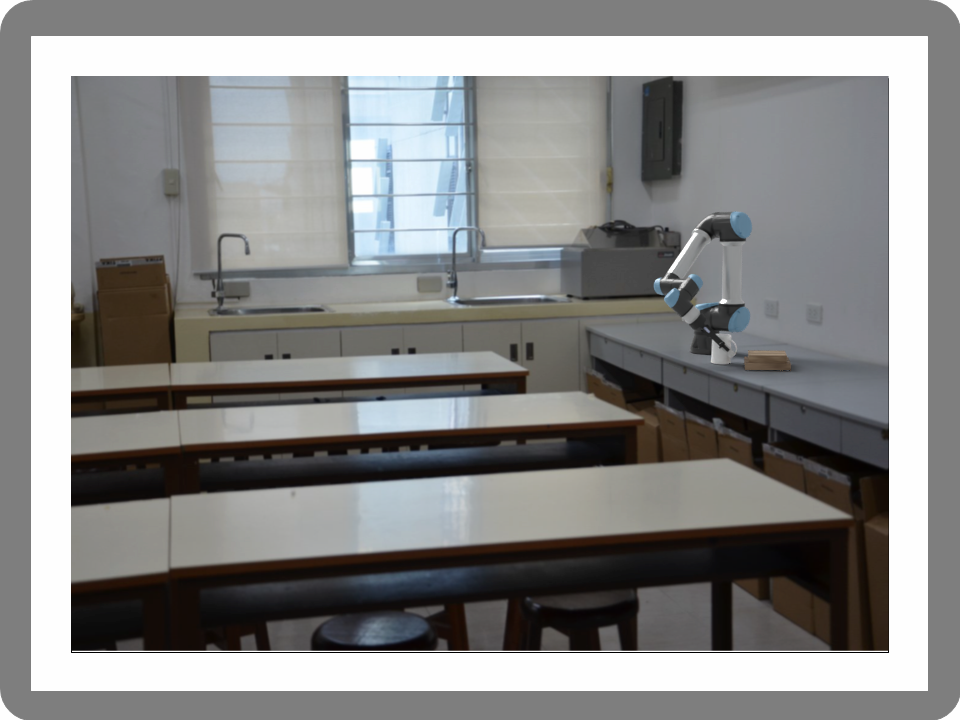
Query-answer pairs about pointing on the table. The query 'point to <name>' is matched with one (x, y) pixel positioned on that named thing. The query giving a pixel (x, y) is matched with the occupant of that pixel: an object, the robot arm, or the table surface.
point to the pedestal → (767, 360)
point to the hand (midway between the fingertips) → (731, 354)
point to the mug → (719, 354)
